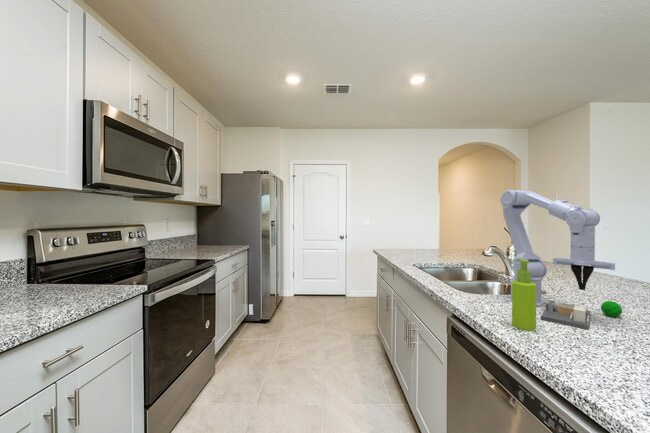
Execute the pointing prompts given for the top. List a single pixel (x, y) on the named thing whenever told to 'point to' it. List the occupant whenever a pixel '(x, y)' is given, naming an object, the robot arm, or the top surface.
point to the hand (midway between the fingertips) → (582, 289)
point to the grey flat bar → (563, 306)
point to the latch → (580, 314)
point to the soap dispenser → (524, 299)
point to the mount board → (563, 315)
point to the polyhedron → (611, 309)
